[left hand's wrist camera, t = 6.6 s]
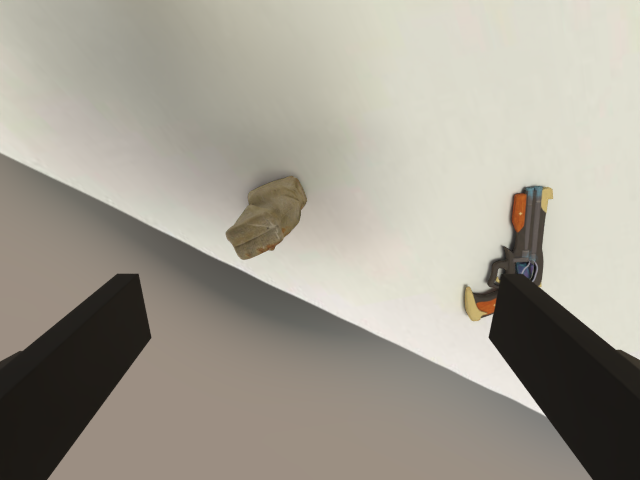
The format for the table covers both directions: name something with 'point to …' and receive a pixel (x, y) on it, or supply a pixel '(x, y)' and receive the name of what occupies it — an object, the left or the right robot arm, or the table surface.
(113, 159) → the table surface
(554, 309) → the left robot arm
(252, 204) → the sculpture
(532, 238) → the toy gun
